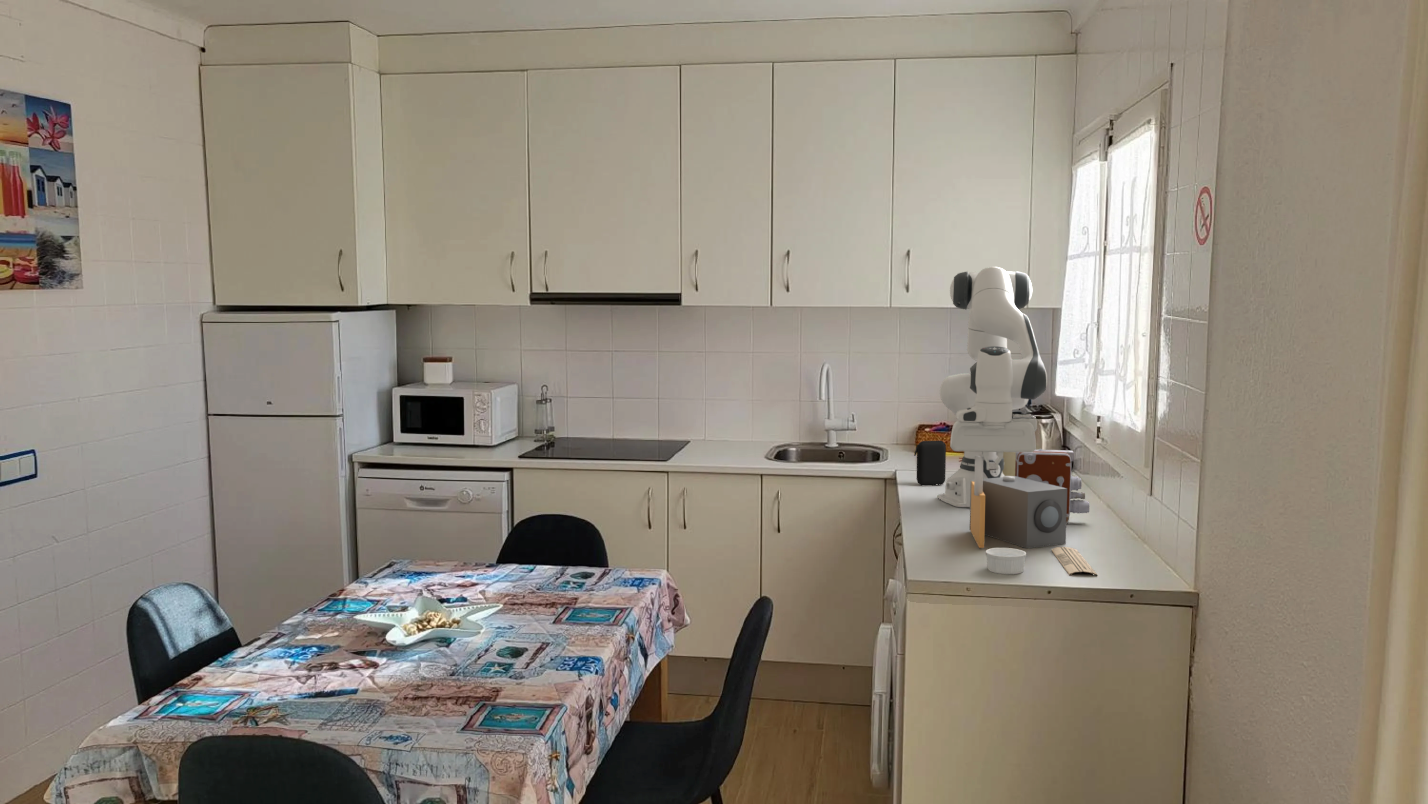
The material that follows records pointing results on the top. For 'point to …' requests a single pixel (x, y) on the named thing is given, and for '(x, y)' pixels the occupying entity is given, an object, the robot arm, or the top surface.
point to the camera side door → (977, 504)
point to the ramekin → (1005, 560)
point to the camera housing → (1025, 511)
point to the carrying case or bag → (931, 462)
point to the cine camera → (1053, 474)
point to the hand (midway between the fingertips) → (992, 469)
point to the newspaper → (1072, 560)
